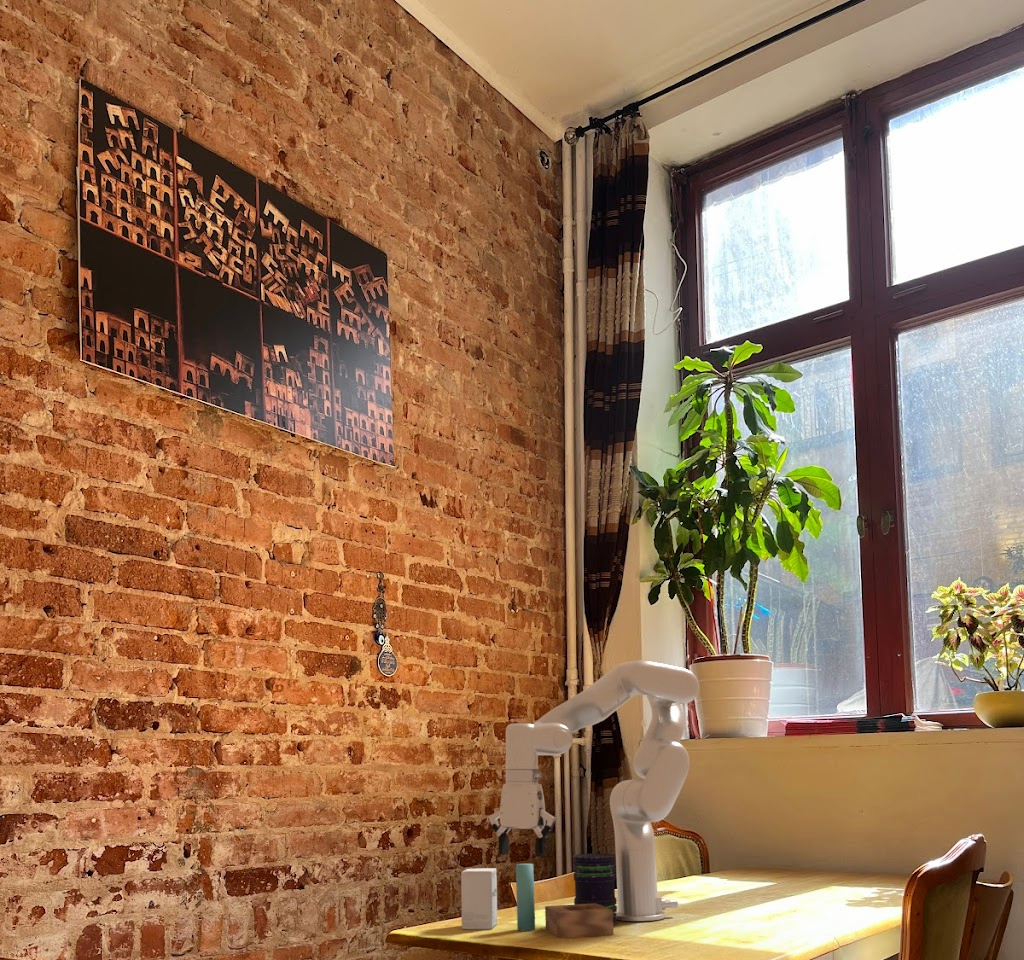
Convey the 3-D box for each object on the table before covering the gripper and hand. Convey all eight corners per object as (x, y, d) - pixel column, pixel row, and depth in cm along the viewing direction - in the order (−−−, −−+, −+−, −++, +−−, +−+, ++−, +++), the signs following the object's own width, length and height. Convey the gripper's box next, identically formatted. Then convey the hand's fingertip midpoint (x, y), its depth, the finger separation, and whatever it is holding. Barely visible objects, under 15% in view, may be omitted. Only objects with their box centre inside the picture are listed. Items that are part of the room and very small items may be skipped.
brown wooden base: (596, 926, 256) (595, 903, 257) (613, 934, 245) (612, 910, 246) (545, 929, 253) (545, 906, 255) (560, 938, 242) (559, 913, 243)
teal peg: (532, 927, 257) (530, 863, 260) (537, 930, 253) (535, 864, 256) (515, 928, 256) (514, 864, 259) (519, 931, 252) (518, 865, 255)
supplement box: (492, 929, 256) (491, 871, 259) (460, 929, 257) (460, 871, 260) (498, 924, 263) (497, 867, 266) (467, 924, 264) (466, 867, 267)
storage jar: (574, 926, 257) (572, 857, 260) (574, 920, 266) (572, 853, 270) (618, 926, 256) (616, 857, 260) (616, 919, 266) (613, 853, 269)
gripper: (562, 777, 261) (563, 855, 257) (498, 777, 269) (498, 852, 265) (546, 778, 255) (546, 858, 250) (481, 777, 263) (481, 854, 259)
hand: (522, 855), depth 258 cm, fingers open, 9 cm apart
